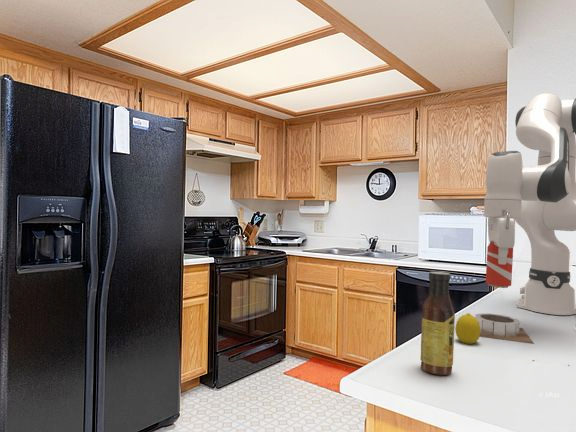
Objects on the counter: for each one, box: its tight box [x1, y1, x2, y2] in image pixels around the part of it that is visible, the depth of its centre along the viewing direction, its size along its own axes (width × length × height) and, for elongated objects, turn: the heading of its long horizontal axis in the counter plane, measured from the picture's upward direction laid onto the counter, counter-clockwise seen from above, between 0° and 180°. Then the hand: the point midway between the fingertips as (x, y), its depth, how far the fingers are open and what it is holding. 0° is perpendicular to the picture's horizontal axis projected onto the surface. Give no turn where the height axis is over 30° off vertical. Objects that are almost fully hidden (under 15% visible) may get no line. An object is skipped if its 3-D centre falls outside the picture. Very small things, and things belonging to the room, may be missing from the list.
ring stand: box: [479, 327, 535, 345], centre depth 109 cm, size 15×15×1 cm
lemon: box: [454, 313, 481, 345], centre depth 99 cm, size 6×6×8 cm
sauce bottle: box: [420, 271, 456, 376], centre depth 83 cm, size 7×6×20 cm
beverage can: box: [485, 241, 514, 289], centre depth 109 cm, size 6×6×12 cm
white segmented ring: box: [474, 312, 521, 337], centre depth 109 cm, size 10×10×4 cm
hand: (499, 262), depth 109 cm, fingers closed on beverage can, 6 cm apart
